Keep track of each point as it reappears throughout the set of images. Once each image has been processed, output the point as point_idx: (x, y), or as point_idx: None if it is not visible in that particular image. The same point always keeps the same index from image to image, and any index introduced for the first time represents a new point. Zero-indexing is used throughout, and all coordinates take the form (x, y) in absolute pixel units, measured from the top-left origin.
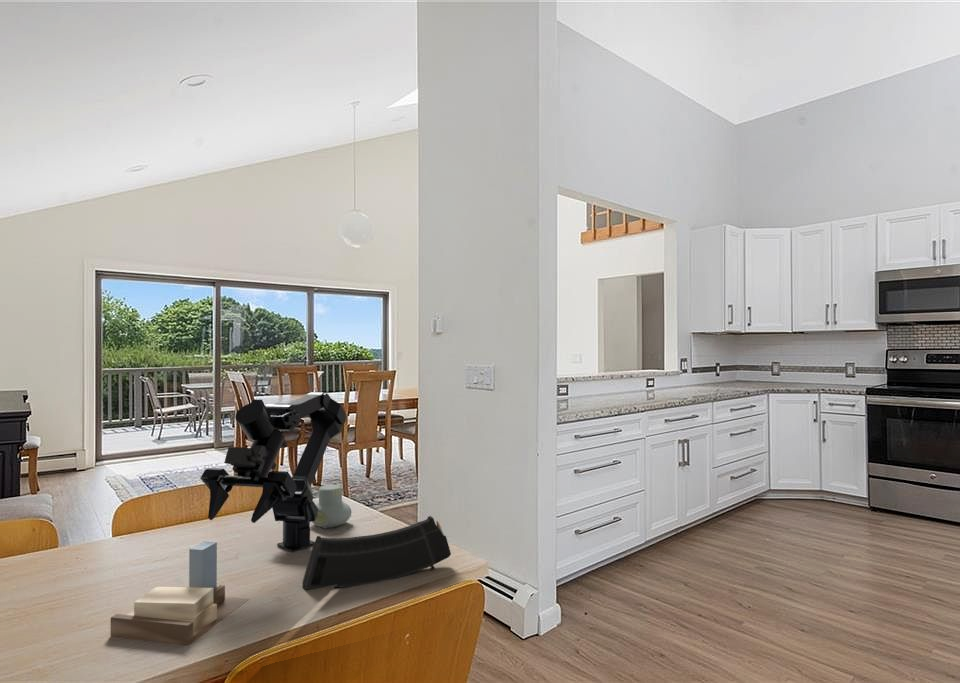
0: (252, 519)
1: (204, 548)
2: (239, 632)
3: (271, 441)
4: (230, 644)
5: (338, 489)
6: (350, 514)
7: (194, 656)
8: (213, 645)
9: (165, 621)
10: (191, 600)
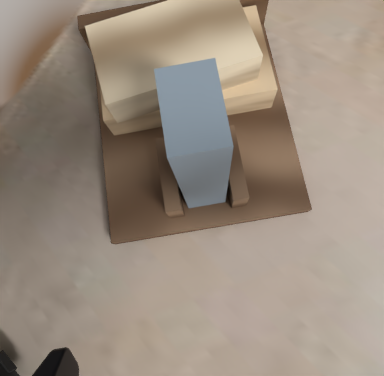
0: (52, 352)
1: (158, 83)
2: (51, 133)
3: None
4: (39, 95)
5: None
6: None
7: (73, 45)
8: (67, 81)
9: (136, 9)
10: (104, 34)
